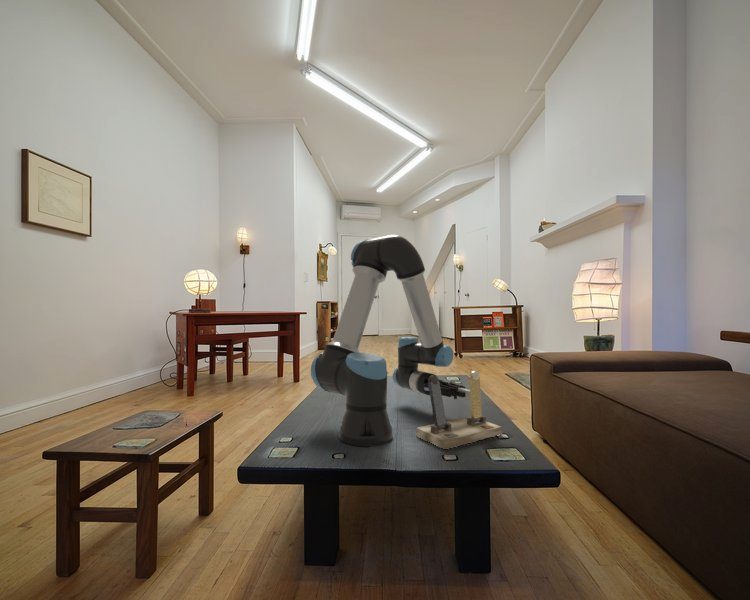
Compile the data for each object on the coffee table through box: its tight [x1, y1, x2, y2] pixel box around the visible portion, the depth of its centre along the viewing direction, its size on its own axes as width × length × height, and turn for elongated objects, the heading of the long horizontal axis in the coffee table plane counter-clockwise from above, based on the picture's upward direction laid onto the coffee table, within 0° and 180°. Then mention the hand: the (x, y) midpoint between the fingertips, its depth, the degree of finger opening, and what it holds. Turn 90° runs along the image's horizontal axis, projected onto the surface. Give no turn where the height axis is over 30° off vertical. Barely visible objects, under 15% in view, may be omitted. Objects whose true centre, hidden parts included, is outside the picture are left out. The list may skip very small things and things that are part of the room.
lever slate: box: [428, 374, 447, 430], centre depth 105 cm, size 3×3×15 cm
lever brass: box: [468, 370, 483, 422], centre depth 111 cm, size 3×3×15 cm
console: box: [415, 415, 503, 449], centre depth 107 cm, size 12×22×4 cm, turn 122°
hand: (475, 396), depth 113 cm, fingers closed
